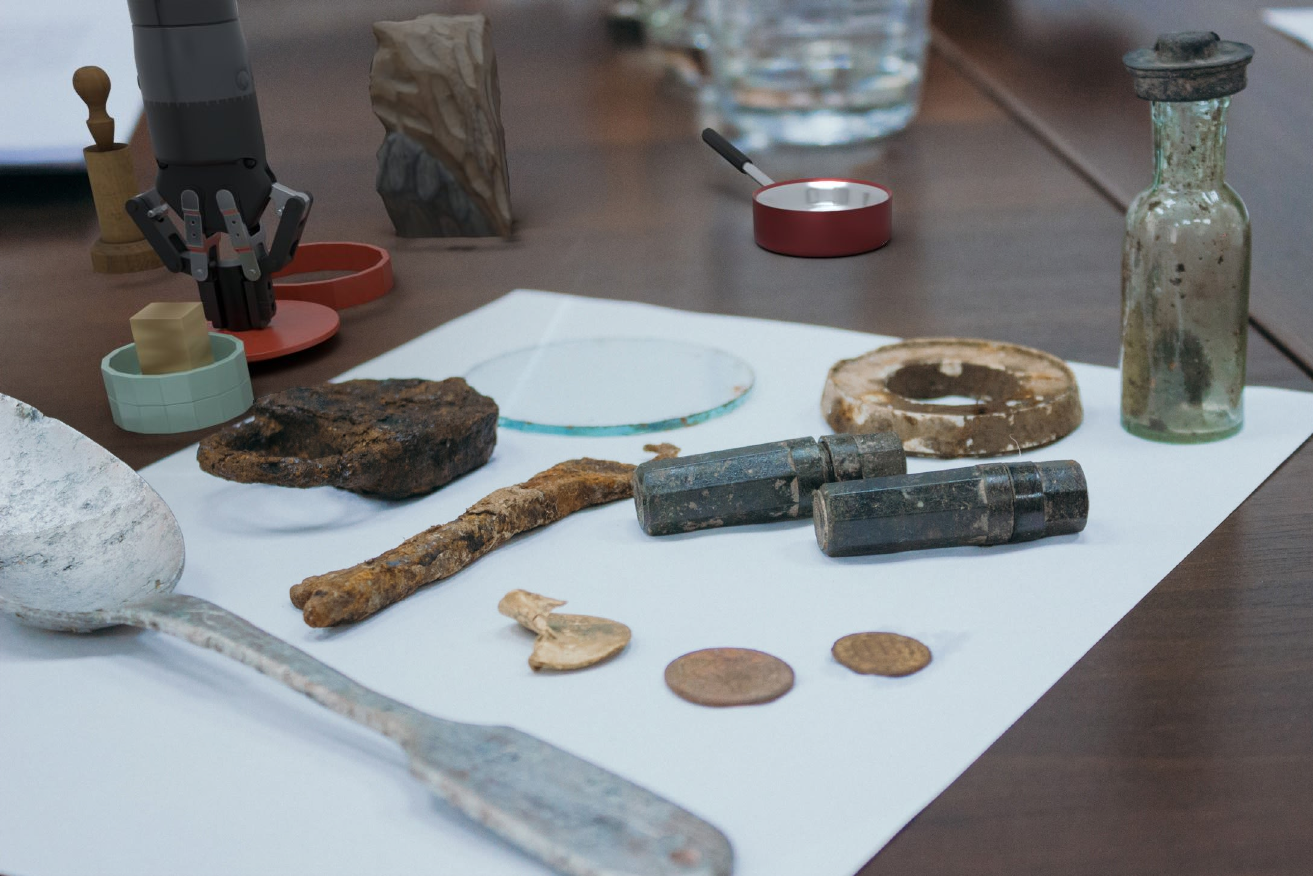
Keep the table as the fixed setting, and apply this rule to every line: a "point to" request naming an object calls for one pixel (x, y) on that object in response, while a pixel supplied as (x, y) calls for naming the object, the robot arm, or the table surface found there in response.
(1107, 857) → the table surface
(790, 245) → the frying pan
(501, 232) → the two-tone stone chunk
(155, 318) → the block
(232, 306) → the pan lid
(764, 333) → the table surface
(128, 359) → the bowl
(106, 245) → the mortar and pestle
